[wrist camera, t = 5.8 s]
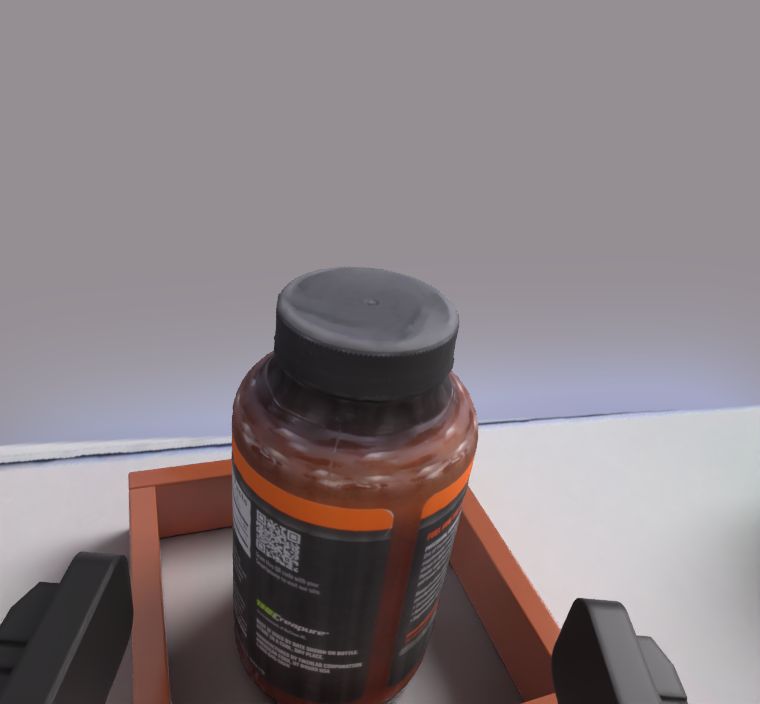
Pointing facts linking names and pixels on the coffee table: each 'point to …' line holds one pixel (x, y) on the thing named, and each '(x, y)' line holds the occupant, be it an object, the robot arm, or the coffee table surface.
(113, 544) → the coffee table surface
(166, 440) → the coffee table surface
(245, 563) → the supplement bottle
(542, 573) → the coffee table surface
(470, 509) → the reddish-brown square frame
